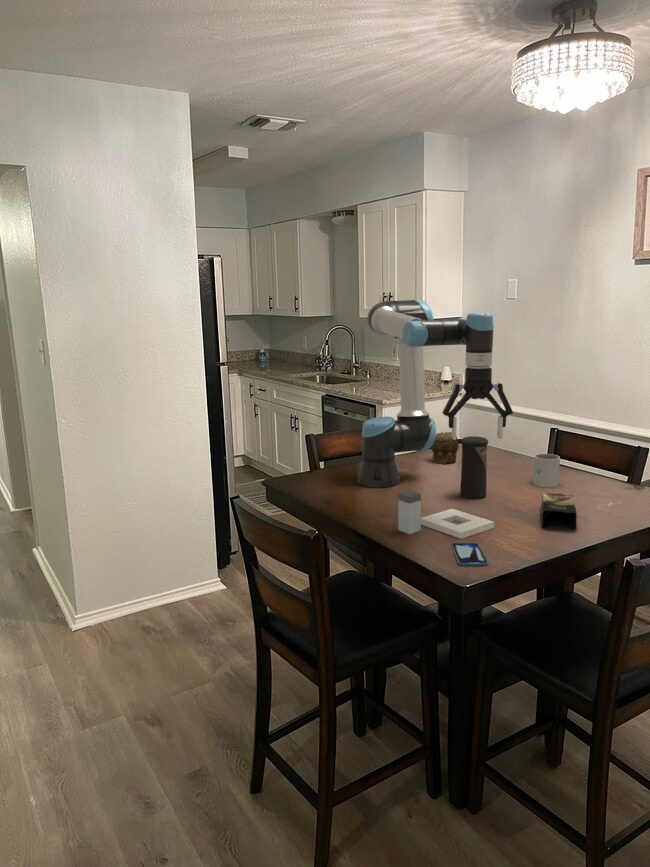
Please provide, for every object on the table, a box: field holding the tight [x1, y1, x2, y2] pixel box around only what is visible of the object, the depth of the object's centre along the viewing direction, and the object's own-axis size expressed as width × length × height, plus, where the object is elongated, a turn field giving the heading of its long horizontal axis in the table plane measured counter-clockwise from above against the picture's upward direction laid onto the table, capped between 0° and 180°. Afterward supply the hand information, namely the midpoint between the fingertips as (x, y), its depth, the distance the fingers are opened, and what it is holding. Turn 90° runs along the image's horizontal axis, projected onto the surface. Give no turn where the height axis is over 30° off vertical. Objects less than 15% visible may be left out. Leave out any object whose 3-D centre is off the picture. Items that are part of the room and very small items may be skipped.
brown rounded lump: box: [430, 431, 460, 465], centre depth 267 cm, size 11×11×12 cm
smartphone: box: [451, 542, 489, 567], centre depth 170 cm, size 7×1×15 cm
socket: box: [421, 508, 495, 540], centre depth 192 cm, size 16×14×2 cm
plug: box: [397, 489, 422, 535], centre depth 188 cm, size 4×4×11 cm
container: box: [459, 435, 489, 500], centre depth 219 cm, size 9×9×20 cm
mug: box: [532, 453, 561, 488], centre depth 234 cm, size 12×9×10 cm
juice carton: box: [539, 492, 578, 530], centre depth 196 cm, size 20×10×6 cm, turn 163°
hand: (476, 438), depth 196 cm, fingers open, 13 cm apart
